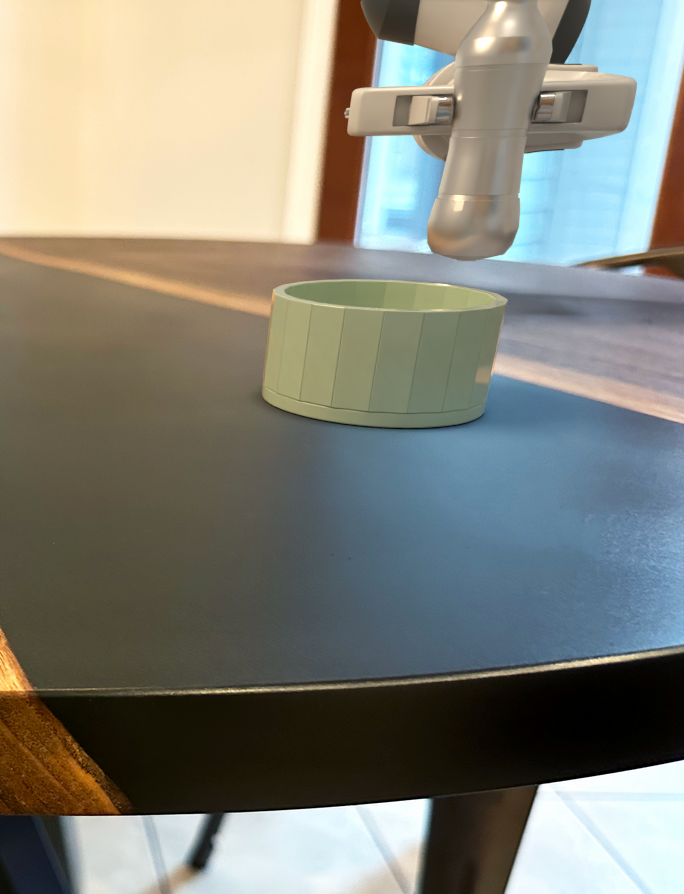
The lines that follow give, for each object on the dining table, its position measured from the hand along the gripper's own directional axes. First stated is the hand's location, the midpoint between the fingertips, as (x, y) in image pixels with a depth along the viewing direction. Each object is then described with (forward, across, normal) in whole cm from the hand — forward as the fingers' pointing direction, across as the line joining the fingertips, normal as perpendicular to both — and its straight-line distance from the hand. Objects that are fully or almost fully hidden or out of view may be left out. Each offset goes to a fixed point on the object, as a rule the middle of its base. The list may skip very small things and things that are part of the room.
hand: (495, 108), depth 75 cm
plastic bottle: (-1, 0, +11) cm, 11 cm away
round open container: (+30, -7, +16) cm, 34 cm away
